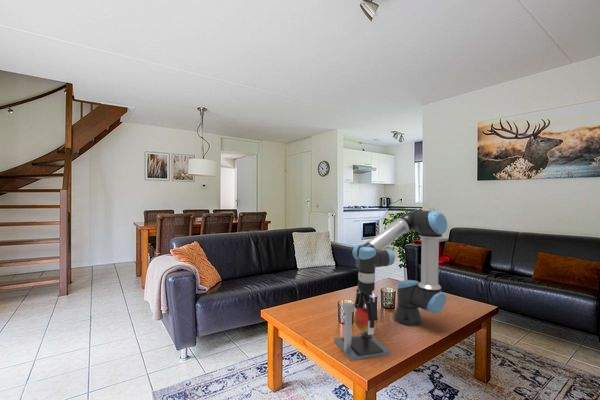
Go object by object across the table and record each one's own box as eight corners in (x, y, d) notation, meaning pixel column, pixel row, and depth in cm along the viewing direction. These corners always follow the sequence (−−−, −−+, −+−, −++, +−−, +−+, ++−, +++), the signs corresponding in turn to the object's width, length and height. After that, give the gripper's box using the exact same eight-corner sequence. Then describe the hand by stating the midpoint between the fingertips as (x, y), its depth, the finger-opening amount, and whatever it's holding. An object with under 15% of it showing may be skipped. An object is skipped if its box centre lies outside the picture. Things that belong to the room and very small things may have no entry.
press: (369, 336, 152) (371, 292, 152) (390, 354, 135) (392, 305, 135) (333, 341, 146) (334, 296, 146) (349, 361, 129) (351, 309, 128)
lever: (368, 334, 150) (368, 313, 150) (371, 337, 147) (371, 315, 147) (361, 335, 149) (361, 314, 149) (364, 338, 146) (364, 316, 146)
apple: (358, 335, 132) (359, 313, 132) (351, 326, 141) (351, 305, 141) (378, 334, 134) (379, 312, 134) (370, 325, 143) (370, 304, 143)
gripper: (348, 275, 147) (346, 320, 147) (371, 288, 126) (370, 341, 126) (361, 274, 149) (360, 318, 149) (387, 287, 128) (385, 339, 128)
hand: (364, 329), depth 137 cm, fingers closed on apple, 9 cm apart
